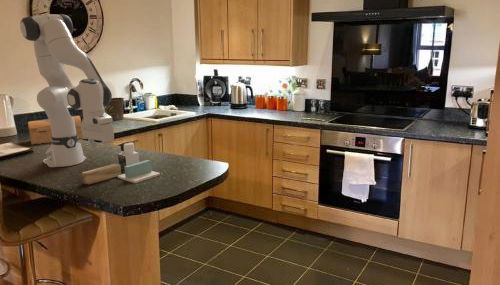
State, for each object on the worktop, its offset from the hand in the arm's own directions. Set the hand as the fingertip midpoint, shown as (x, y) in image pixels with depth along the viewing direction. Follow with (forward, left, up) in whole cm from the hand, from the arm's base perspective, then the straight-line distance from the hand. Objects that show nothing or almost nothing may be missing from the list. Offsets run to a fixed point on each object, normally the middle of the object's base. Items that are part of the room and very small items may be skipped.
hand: (99, 149), depth 180 cm
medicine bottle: (-5, +17, -14) cm, 22 cm away
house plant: (-106, +66, -14) cm, 126 cm away
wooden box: (-99, +27, -14) cm, 104 cm away
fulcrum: (+11, +11, -13) cm, 20 cm away
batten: (0, 0, -14) cm, 14 cm away
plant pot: (-131, +89, -14) cm, 159 cm away
